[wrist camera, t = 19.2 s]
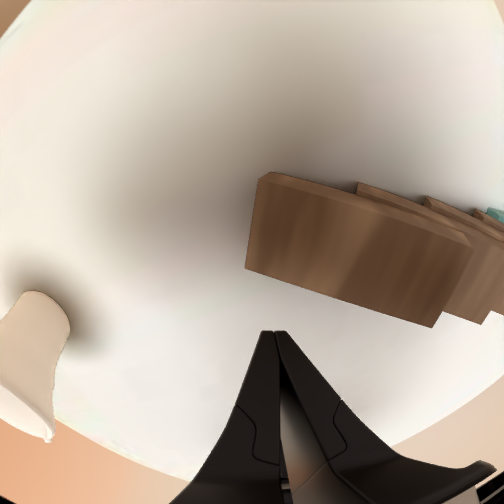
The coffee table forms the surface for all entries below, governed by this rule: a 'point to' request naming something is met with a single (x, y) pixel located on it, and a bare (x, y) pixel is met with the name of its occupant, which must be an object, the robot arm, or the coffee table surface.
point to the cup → (31, 362)
